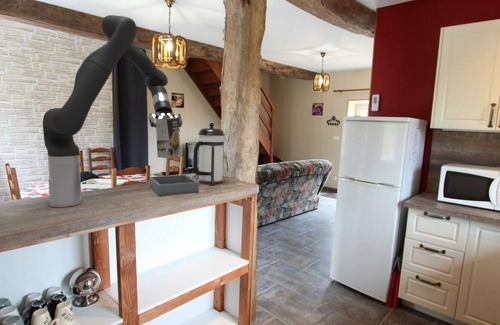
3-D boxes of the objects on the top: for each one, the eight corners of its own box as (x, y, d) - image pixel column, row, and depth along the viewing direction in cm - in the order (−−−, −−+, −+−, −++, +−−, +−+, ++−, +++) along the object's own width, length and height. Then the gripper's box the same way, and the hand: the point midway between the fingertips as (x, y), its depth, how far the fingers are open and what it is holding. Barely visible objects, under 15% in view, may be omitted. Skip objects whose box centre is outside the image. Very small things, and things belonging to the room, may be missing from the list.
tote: (159, 196, 118) (158, 185, 117) (149, 186, 134) (149, 176, 133) (198, 192, 126) (198, 182, 125) (185, 183, 142) (185, 174, 141)
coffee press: (193, 179, 152) (194, 121, 148) (223, 179, 155) (225, 123, 151) (193, 187, 136) (193, 122, 131) (227, 187, 139) (229, 123, 134)
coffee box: (171, 158, 119) (169, 119, 116) (157, 157, 121) (154, 118, 117) (180, 154, 128) (179, 117, 125) (167, 153, 129) (165, 116, 126)
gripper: (146, 98, 127) (152, 127, 118) (179, 100, 134) (187, 127, 125) (144, 110, 132) (150, 139, 124) (176, 111, 139) (183, 138, 131)
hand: (169, 133), depth 125 cm, fingers closed on coffee box, 7 cm apart
